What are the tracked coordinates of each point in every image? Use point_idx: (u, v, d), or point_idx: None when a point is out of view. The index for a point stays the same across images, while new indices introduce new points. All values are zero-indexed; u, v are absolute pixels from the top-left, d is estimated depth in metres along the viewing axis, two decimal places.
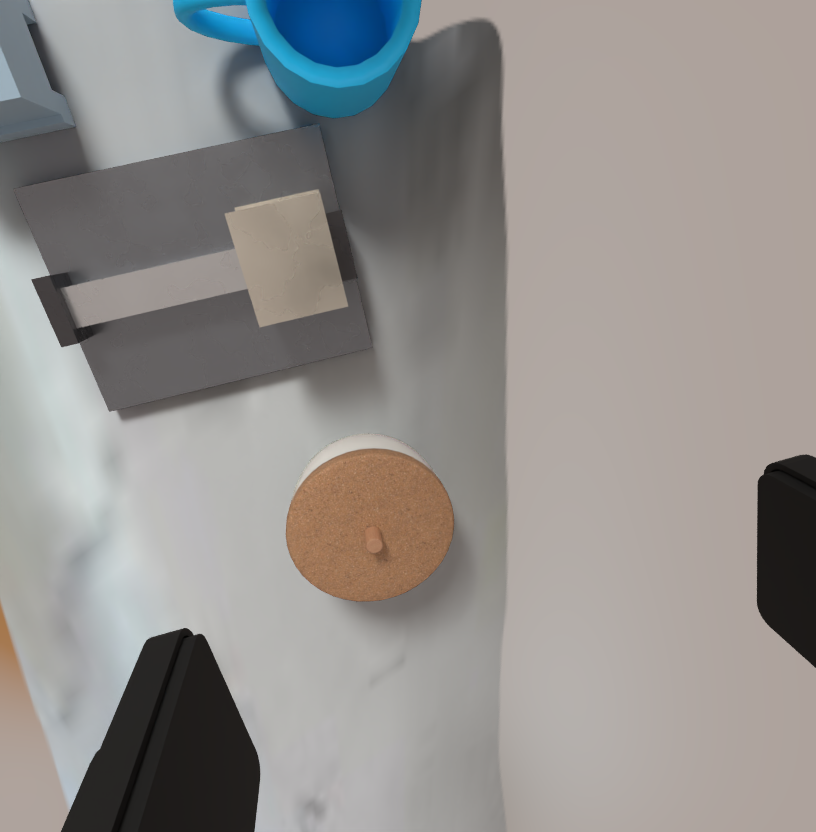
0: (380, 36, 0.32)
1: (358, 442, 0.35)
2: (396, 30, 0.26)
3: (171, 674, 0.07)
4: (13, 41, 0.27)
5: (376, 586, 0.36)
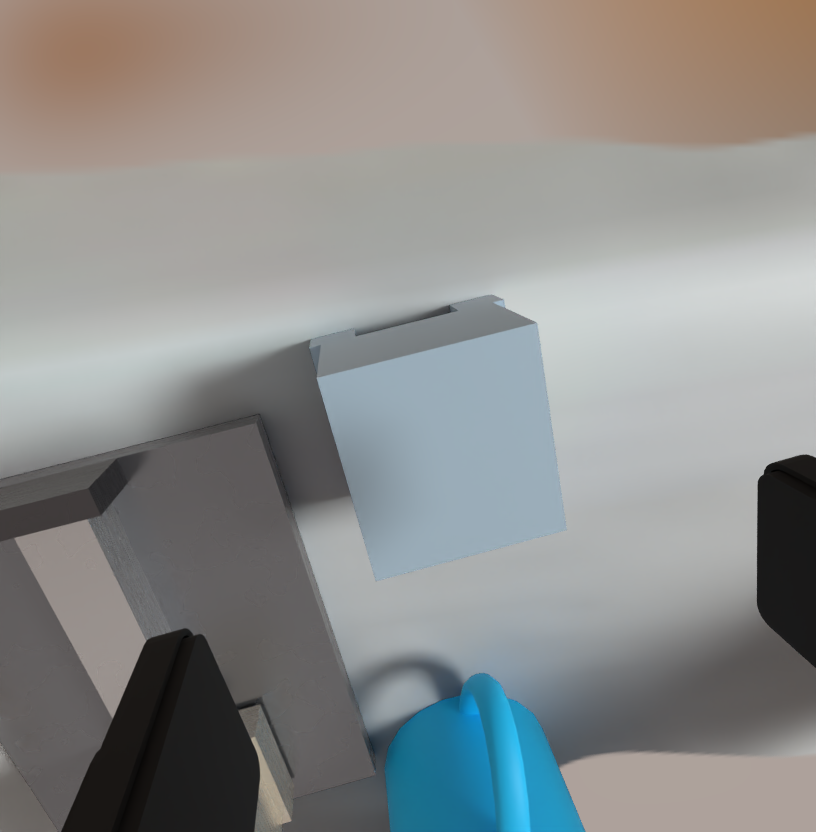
0: None
1: None
2: None
3: (171, 674, 0.07)
4: None
5: None
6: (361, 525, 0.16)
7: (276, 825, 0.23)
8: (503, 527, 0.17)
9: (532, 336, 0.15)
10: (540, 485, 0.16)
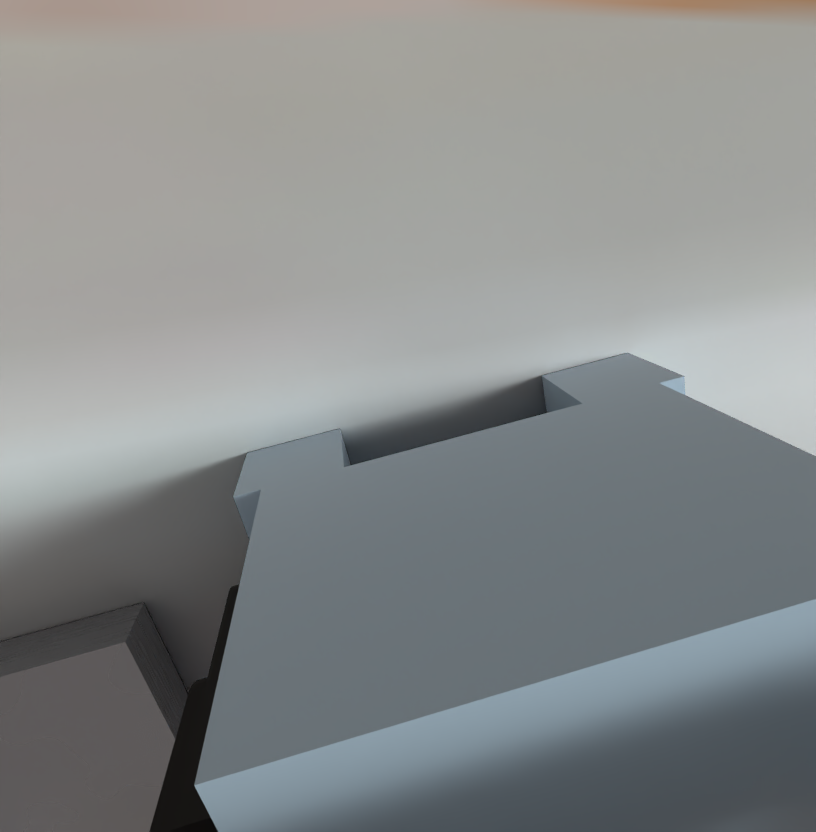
0: None
1: None
2: None
3: None
4: None
5: None
6: None
7: None
8: None
9: None
10: None
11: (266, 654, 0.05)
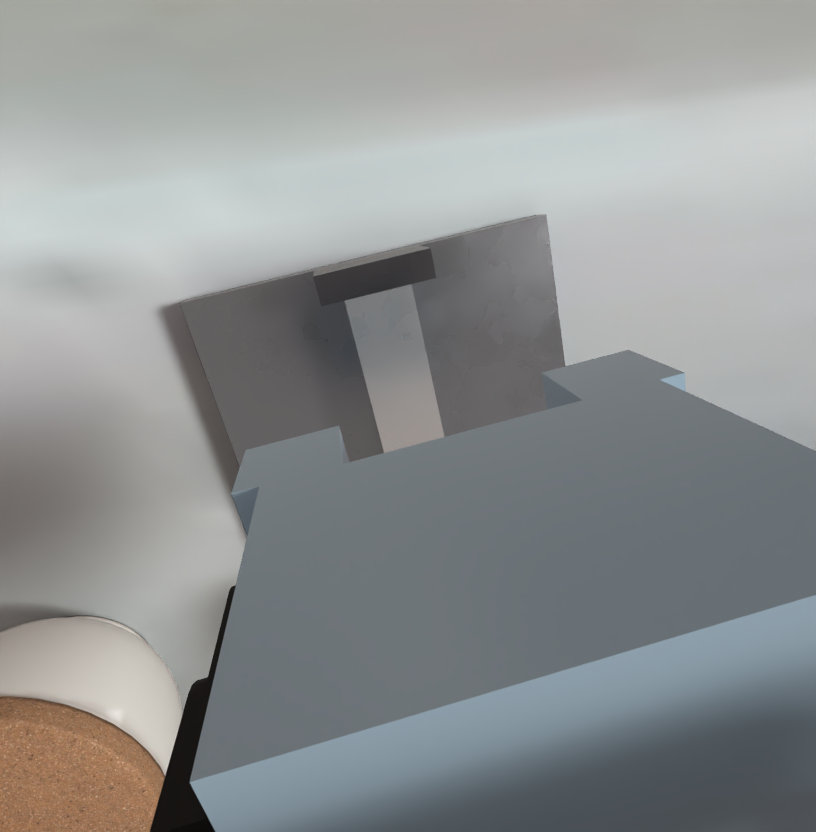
0: None
1: None
2: None
3: None
4: None
5: None
6: None
7: None
8: None
9: None
10: None
11: (263, 650, 0.05)
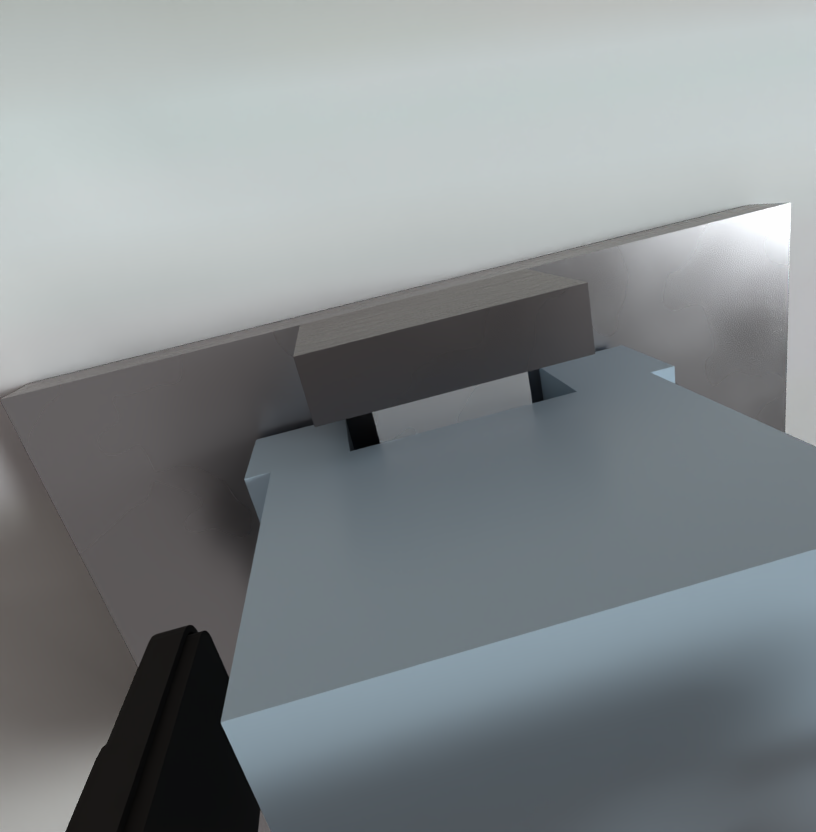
0: None
1: None
2: None
3: (177, 670, 0.07)
4: None
5: None
6: None
7: None
8: None
9: None
10: None
11: (282, 614, 0.05)
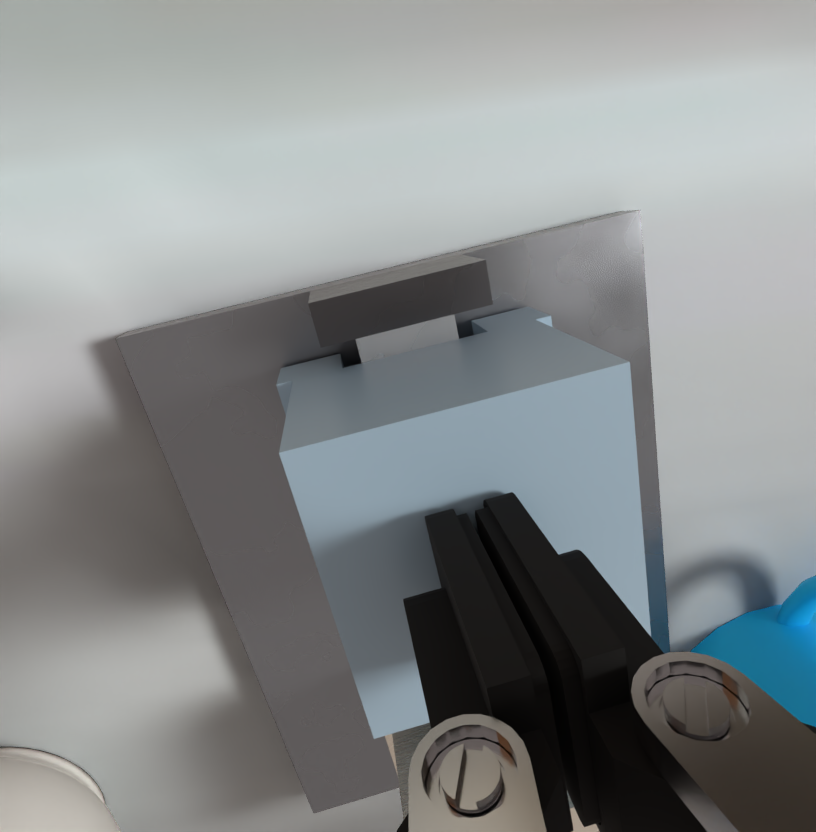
0: None
1: None
2: None
3: (467, 535, 0.09)
4: None
5: None
6: (352, 665, 0.10)
7: None
8: None
9: (621, 382, 0.09)
10: (619, 597, 0.11)
11: (304, 424, 0.10)
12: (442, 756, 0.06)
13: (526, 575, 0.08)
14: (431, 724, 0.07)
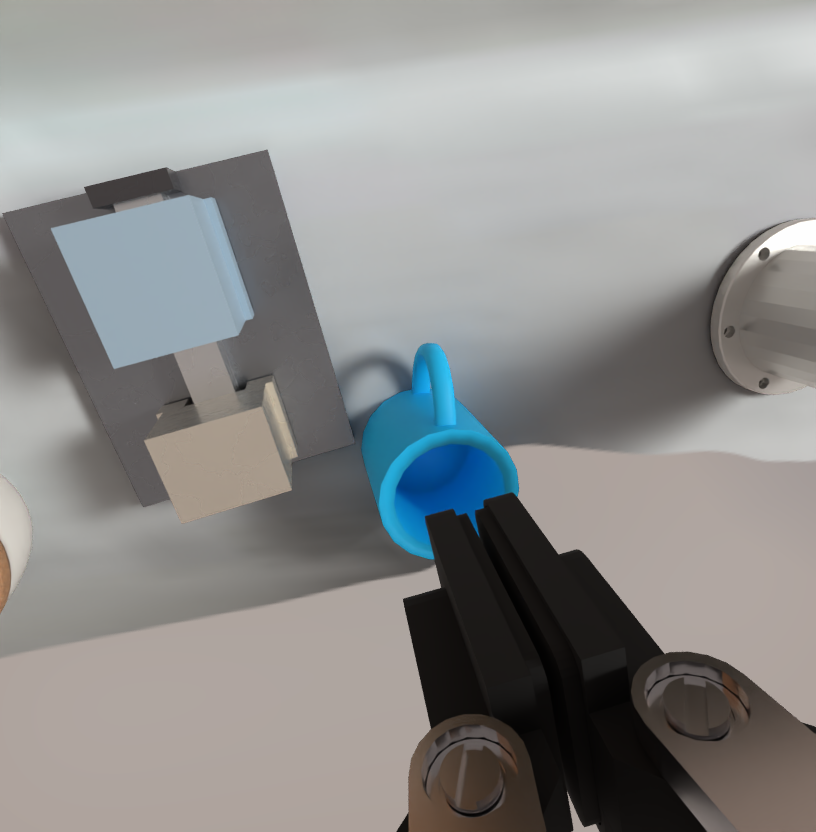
0: (424, 488, 0.38)
1: (15, 533, 0.30)
2: (423, 544, 0.32)
3: (467, 536, 0.09)
4: None
5: None
6: (97, 329, 0.26)
7: (288, 451, 0.33)
8: (194, 332, 0.26)
9: (188, 203, 0.25)
10: (213, 303, 0.26)
11: None
12: (442, 756, 0.06)
13: (526, 575, 0.08)
14: (431, 724, 0.07)
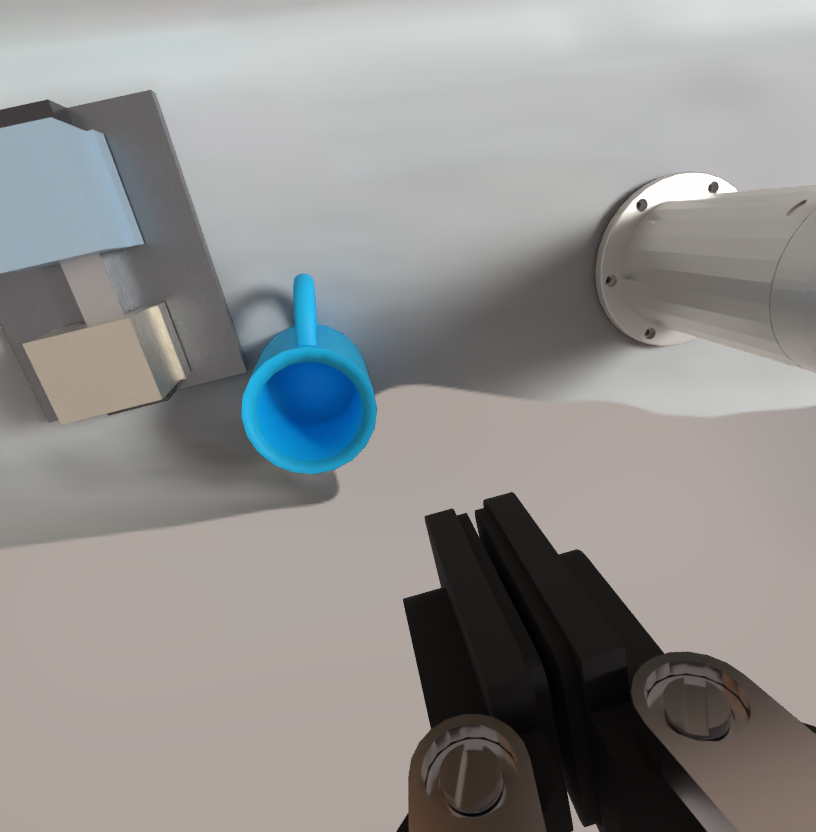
0: (314, 419, 0.41)
1: None
2: (287, 457, 0.34)
3: (467, 536, 0.09)
4: (58, 261, 0.31)
5: None
6: None
7: (174, 372, 0.36)
8: (63, 245, 0.30)
9: (51, 125, 0.28)
10: (79, 218, 0.29)
11: None
12: (442, 756, 0.06)
13: (526, 575, 0.08)
14: (431, 724, 0.07)
